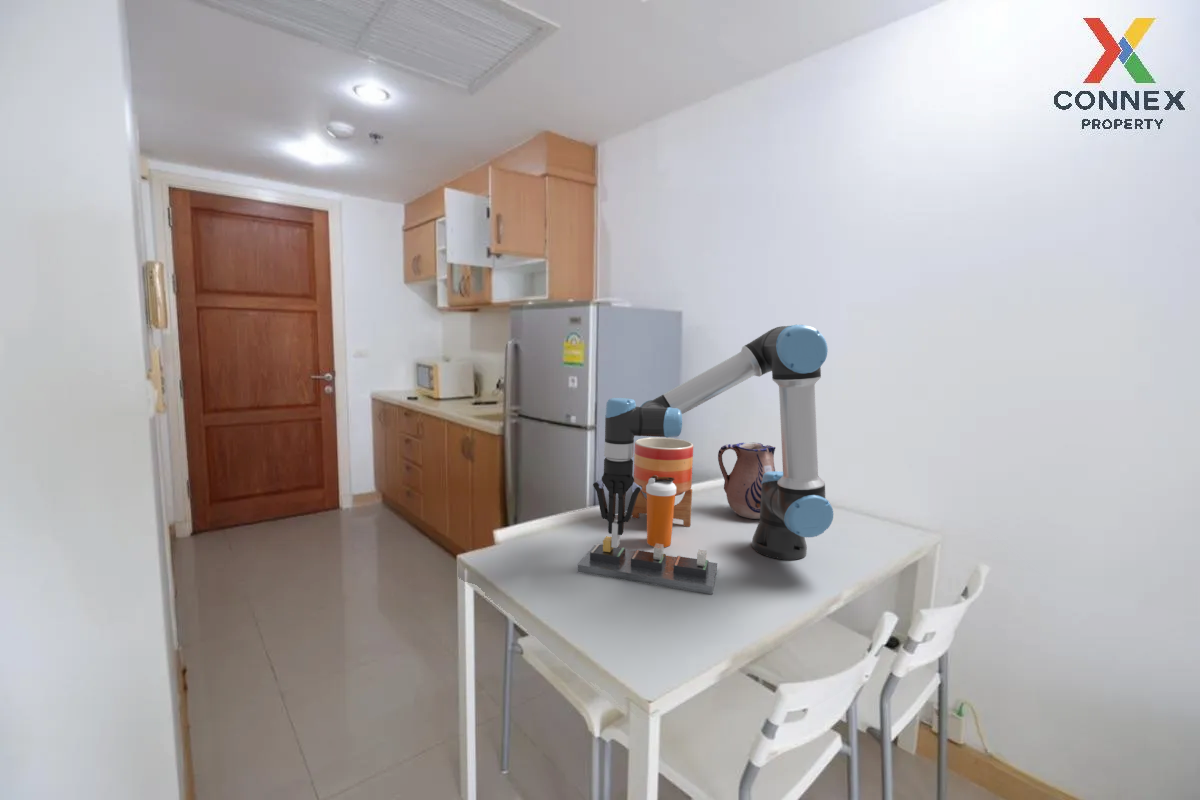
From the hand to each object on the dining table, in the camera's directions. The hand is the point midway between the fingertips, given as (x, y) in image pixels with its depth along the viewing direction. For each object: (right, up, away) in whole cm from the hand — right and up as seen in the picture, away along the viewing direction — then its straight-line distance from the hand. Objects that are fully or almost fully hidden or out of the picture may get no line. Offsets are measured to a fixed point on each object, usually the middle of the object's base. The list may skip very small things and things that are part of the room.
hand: (615, 545), depth 136 cm
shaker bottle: (+13, -4, +17) cm, 22 cm away
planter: (+16, -2, +36) cm, 40 cm away
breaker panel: (+8, -6, -2) cm, 11 cm away
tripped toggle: (-2, -1, +1) cm, 2 cm away
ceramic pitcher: (+47, -2, +45) cm, 66 cm away
